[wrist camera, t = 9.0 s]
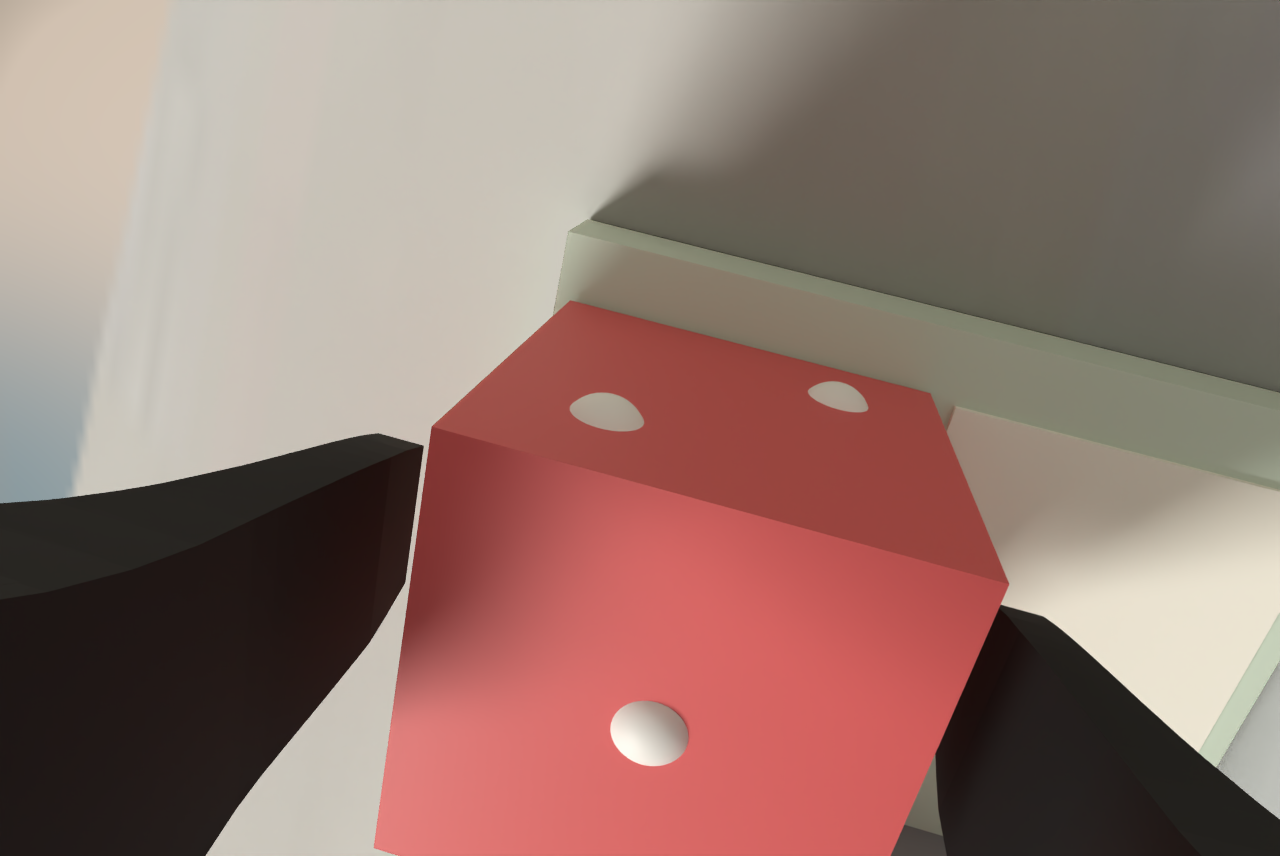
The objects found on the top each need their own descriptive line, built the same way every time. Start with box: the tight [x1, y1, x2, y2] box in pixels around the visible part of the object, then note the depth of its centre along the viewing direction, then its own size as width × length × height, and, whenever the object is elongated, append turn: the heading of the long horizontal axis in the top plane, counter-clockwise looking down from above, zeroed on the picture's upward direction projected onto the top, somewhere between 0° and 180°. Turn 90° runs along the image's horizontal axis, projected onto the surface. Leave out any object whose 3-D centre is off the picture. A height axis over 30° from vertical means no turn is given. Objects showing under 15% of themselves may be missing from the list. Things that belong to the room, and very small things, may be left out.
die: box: [374, 300, 1009, 856], centre depth 11 cm, size 5×5×5 cm
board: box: [553, 220, 1280, 836], centre depth 15 cm, size 16×11×1 cm
